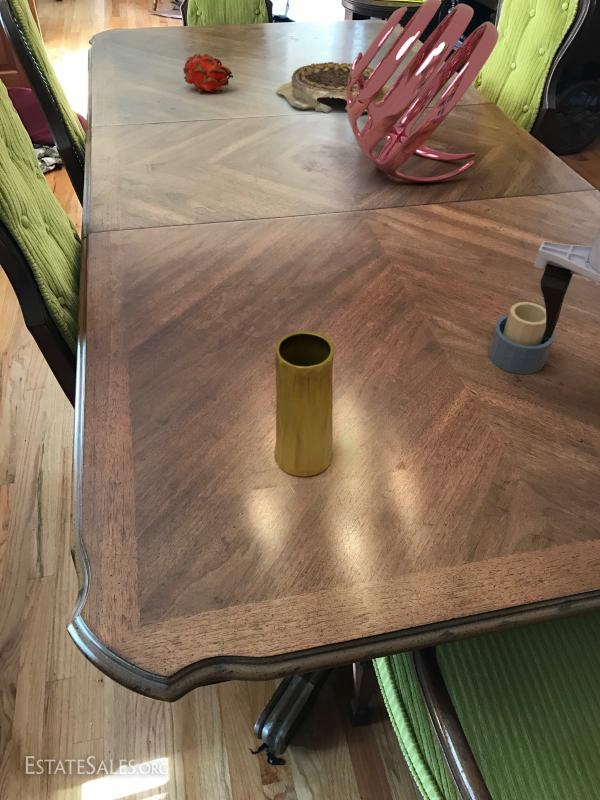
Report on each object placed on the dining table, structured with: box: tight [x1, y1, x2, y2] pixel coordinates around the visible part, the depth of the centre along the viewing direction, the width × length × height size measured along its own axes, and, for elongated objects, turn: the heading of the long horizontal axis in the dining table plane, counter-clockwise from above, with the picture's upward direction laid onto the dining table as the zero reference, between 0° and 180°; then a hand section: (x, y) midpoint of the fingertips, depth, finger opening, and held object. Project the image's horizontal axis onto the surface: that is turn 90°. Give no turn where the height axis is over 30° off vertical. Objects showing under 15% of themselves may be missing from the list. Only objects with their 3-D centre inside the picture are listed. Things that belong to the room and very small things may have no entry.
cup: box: [503, 301, 546, 346], centre depth 73 cm, size 4×4×6 cm
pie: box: [275, 61, 392, 114], centre depth 142 cm, size 28×27×5 cm
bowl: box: [487, 313, 556, 375], centre depth 74 cm, size 7×7×4 cm
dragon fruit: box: [182, 53, 234, 94], centre depth 143 cm, size 8×8×12 cm
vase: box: [273, 330, 335, 477], centre depth 59 cm, size 6×6×14 cm
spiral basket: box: [346, 0, 500, 184], centre depth 106 cm, size 28×28×27 cm
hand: (587, 343), depth 62 cm, fingers open, 7 cm apart
